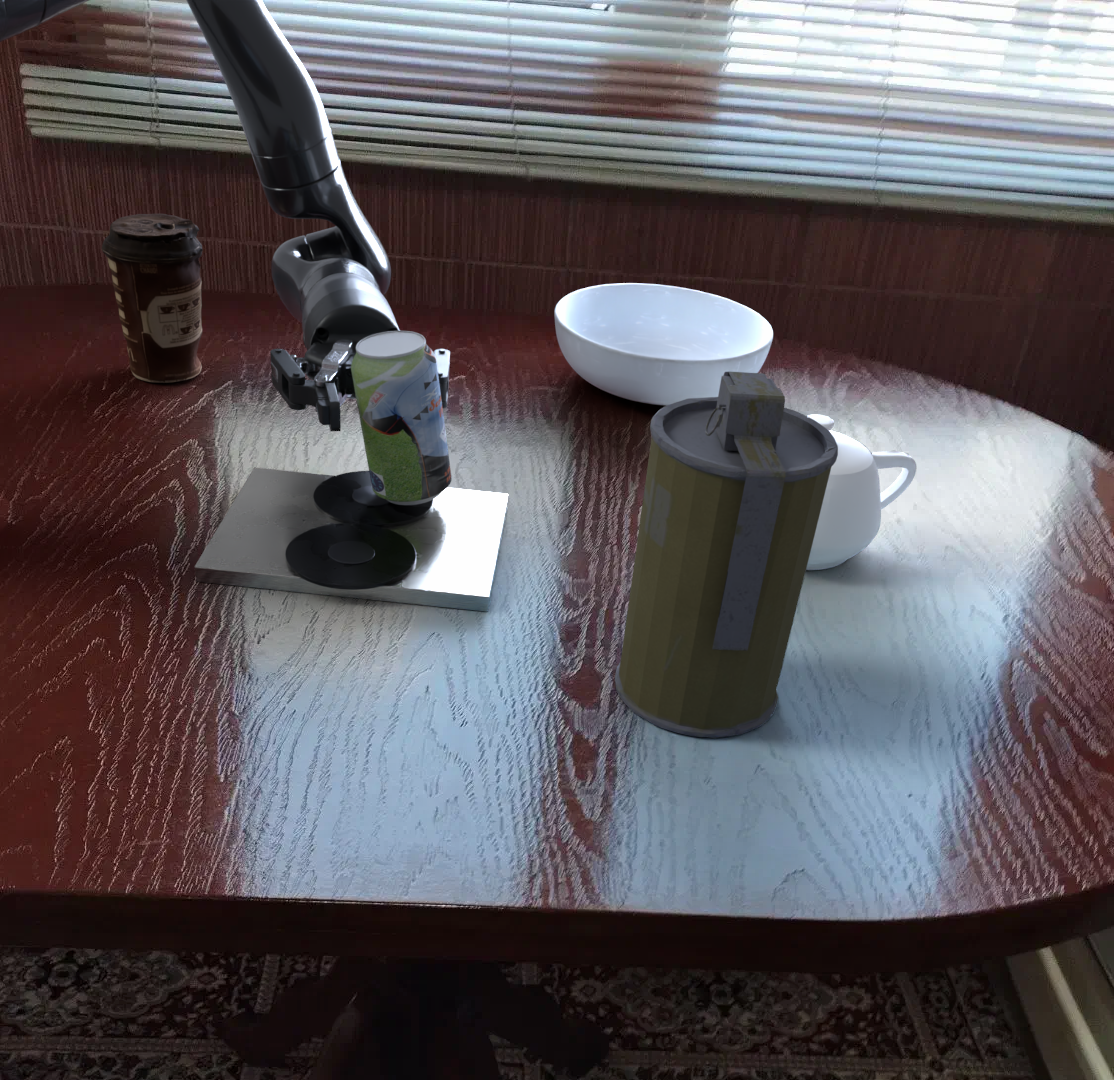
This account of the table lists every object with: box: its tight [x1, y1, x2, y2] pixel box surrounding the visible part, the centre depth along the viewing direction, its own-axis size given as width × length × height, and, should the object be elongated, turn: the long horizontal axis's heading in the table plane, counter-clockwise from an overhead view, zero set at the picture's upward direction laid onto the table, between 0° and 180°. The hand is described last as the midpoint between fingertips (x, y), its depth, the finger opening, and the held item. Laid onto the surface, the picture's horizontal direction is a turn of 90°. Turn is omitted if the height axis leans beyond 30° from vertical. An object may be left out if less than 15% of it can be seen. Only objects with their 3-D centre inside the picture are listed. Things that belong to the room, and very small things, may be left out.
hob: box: [194, 467, 510, 613], centre depth 88 cm, size 20×18×2 cm
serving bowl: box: [554, 282, 774, 406], centre depth 116 cm, size 21×21×7 cm
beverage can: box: [351, 330, 452, 505], centre depth 88 cm, size 6×7×12 cm
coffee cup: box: [101, 213, 204, 384], centre depth 107 cm, size 9×8×13 cm
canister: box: [614, 371, 838, 739], centre depth 71 cm, size 11×10×20 cm
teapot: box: [806, 413, 917, 571], centre depth 91 cm, size 20×12×10 cm, turn 108°
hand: (378, 417), depth 85 cm, fingers open, 5 cm apart
